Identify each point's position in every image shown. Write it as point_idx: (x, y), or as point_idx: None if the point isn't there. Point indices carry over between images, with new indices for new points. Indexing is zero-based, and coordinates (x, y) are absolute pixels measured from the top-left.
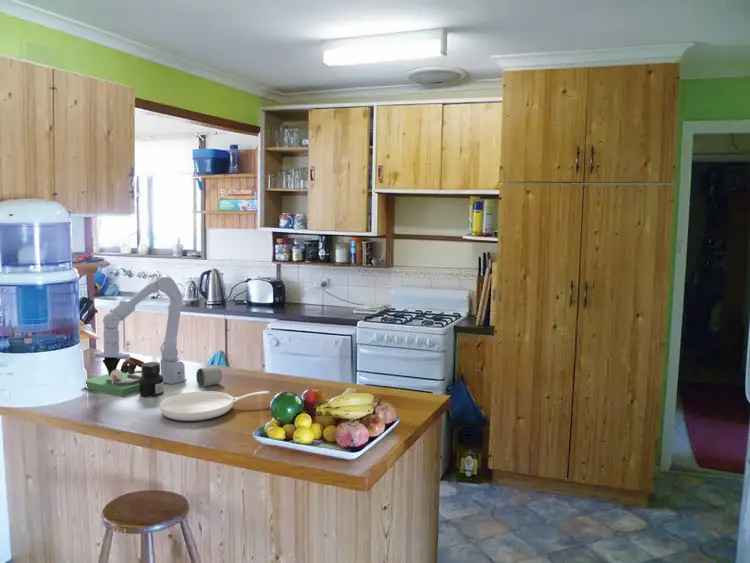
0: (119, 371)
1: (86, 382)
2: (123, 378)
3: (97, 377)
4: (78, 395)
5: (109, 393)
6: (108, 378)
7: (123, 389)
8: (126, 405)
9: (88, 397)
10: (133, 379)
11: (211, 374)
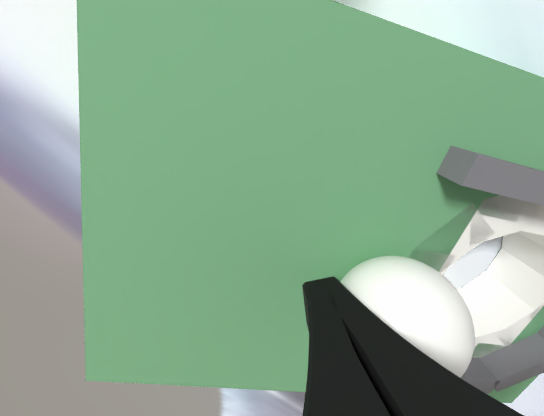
0: (471, 356)
1: (146, 375)
2: (414, 226)
3: (113, 278)
4: (226, 407)
5: None
6: (259, 269)
7: (514, 392)
8: (529, 410)
9: (303, 407)
10: (528, 225)
11: None
